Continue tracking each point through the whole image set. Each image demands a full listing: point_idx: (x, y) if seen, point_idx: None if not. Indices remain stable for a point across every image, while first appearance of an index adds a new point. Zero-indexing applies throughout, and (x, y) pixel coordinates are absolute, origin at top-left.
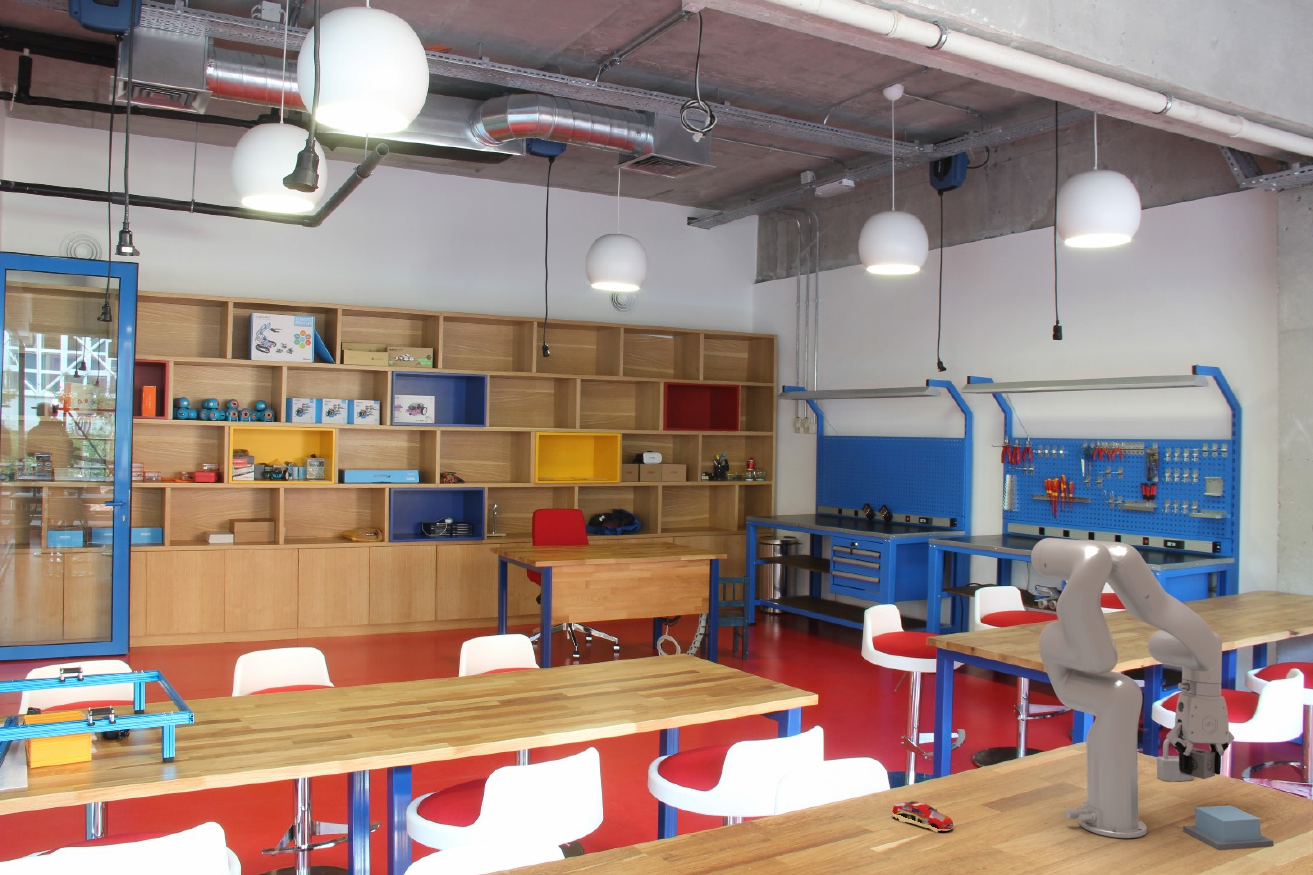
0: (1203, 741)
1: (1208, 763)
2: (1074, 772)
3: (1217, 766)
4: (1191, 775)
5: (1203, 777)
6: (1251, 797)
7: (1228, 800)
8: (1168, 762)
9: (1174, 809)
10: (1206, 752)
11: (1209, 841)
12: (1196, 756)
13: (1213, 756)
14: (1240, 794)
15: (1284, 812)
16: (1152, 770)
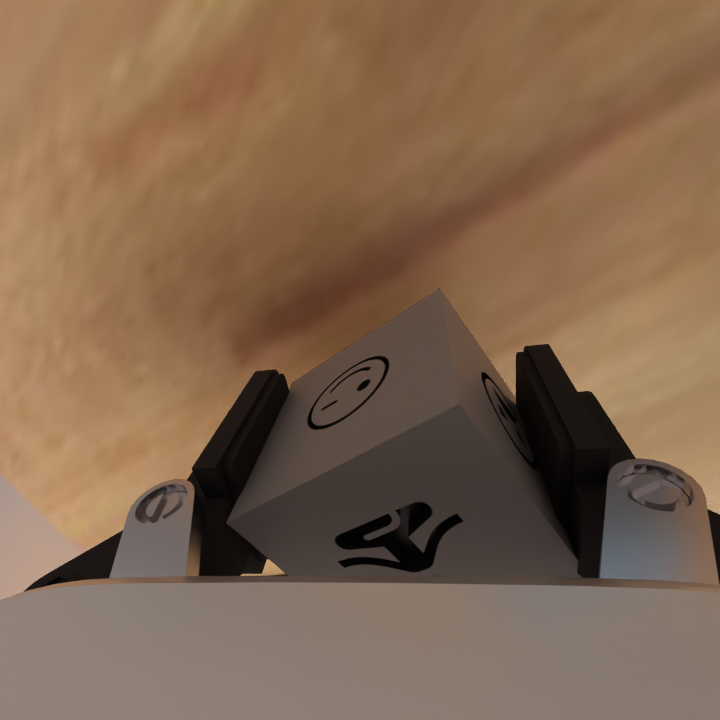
0: (497, 616)
1: (364, 391)
2: None
3: (260, 406)
4: (492, 366)
5: (442, 296)
6: (109, 427)
7: (215, 400)
8: None
9: (536, 297)
10: (333, 520)
11: None
12: (505, 449)
13: (267, 477)
14: (140, 457)
15: (16, 247)
16: None
